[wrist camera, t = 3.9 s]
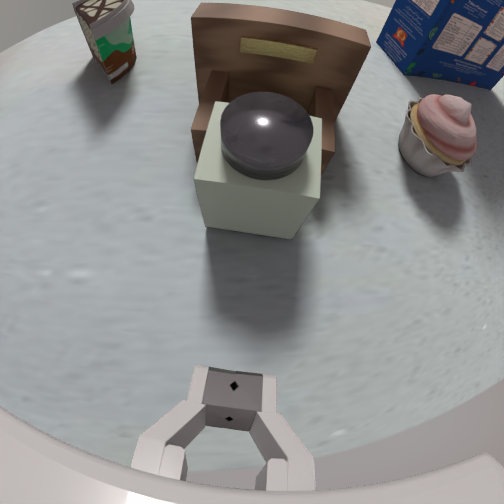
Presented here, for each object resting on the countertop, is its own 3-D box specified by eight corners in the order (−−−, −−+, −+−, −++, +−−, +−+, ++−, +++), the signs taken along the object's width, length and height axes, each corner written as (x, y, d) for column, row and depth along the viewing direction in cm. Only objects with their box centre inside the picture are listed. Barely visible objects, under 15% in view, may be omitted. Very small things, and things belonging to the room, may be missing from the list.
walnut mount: (178, 169, 25) (153, 80, 14) (205, 85, 27) (201, 2, 17) (333, 193, 25) (387, 118, 14) (332, 105, 28) (365, 30, 17)
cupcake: (452, 202, 26) (510, 162, 17) (385, 172, 26) (438, 114, 17) (445, 140, 29) (489, 96, 19) (385, 110, 29) (423, 54, 19)
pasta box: (468, 62, 37) (525, -16, 10) (490, 90, 35) (555, 13, 8) (376, 42, 33) (434, -87, 6) (403, 74, 31) (483, -63, 4)
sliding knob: (205, 226, 23) (189, 159, 13) (218, 163, 25) (214, 79, 15) (291, 239, 23) (330, 181, 14) (297, 175, 25) (330, 98, 15)
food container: (160, 66, 28) (147, 0, 18) (115, 89, 27) (90, 26, 17) (127, 33, 30) (114, -18, 20) (90, 53, 29) (71, 2, 19)
